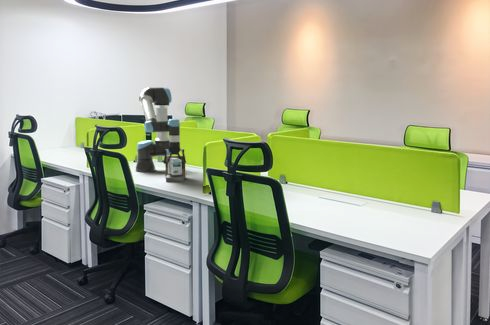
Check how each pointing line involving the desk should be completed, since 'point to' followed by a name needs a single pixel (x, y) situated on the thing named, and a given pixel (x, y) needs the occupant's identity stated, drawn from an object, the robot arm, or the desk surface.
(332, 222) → the desk surface
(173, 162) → the light bulb box
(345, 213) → the desk surface
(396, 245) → the desk surface
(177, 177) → the brown box
